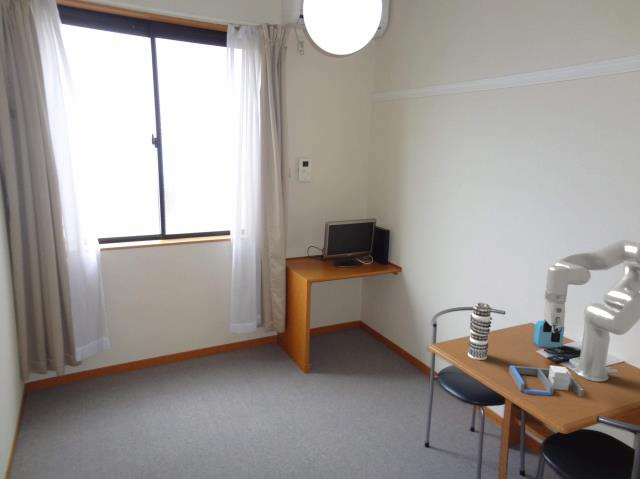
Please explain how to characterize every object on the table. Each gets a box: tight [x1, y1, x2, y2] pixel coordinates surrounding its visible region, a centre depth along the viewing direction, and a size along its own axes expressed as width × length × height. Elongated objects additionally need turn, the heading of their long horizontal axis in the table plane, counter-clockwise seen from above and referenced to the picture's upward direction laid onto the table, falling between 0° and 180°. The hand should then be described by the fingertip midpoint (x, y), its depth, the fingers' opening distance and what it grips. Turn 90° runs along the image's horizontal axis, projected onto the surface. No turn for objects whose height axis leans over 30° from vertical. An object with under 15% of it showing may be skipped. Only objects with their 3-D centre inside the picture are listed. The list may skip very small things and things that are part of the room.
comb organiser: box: [508, 365, 585, 398], centre depth 181 cm, size 23×17×4 cm
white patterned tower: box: [467, 302, 493, 361], centre depth 203 cm, size 9×9×25 cm
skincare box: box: [547, 365, 572, 391], centre depth 180 cm, size 6×6×7 cm
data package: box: [533, 320, 565, 349], centre depth 217 cm, size 12×4×12 cm, turn 89°
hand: (550, 336), depth 179 cm, fingers open, 9 cm apart
